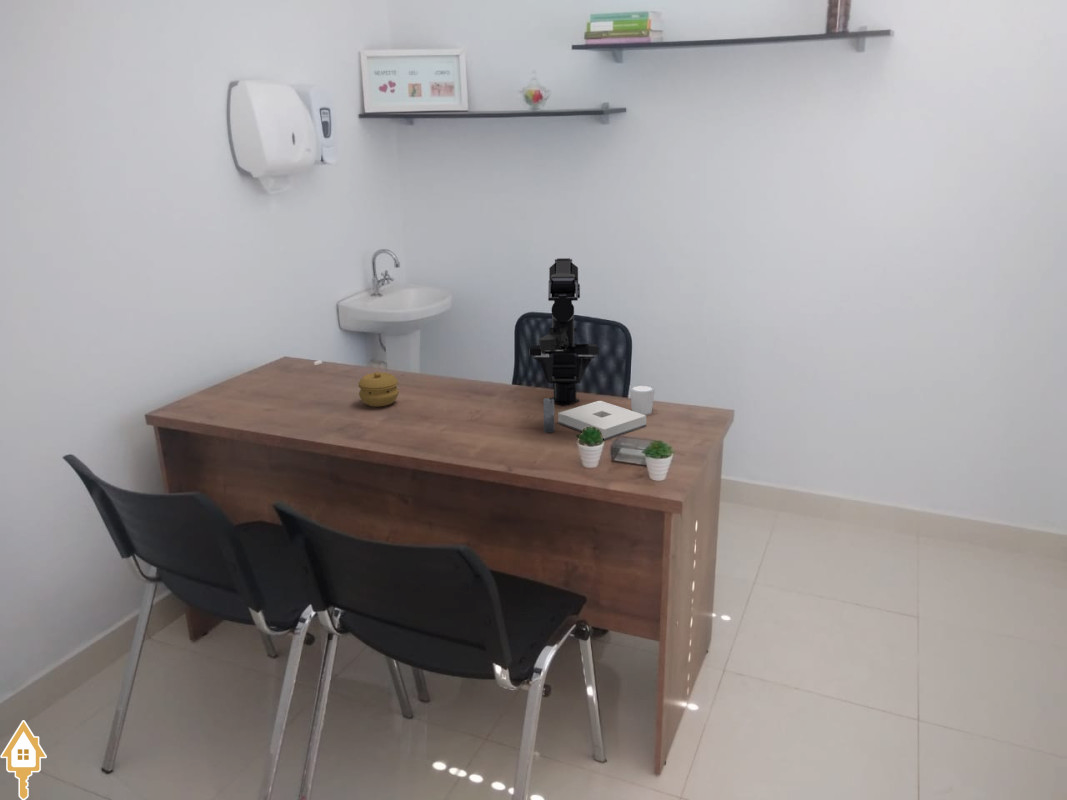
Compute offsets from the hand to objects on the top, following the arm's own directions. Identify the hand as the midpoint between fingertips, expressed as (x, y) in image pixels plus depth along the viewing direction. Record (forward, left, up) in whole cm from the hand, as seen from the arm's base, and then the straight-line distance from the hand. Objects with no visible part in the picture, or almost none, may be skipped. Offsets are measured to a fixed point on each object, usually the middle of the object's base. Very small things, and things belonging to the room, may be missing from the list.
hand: (563, 383), depth 218 cm
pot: (-55, -25, -14) cm, 62 cm away
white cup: (+3, +27, -14) cm, 31 cm away
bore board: (+3, +11, -14) cm, 18 cm away
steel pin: (-3, -3, -14) cm, 14 cm away
